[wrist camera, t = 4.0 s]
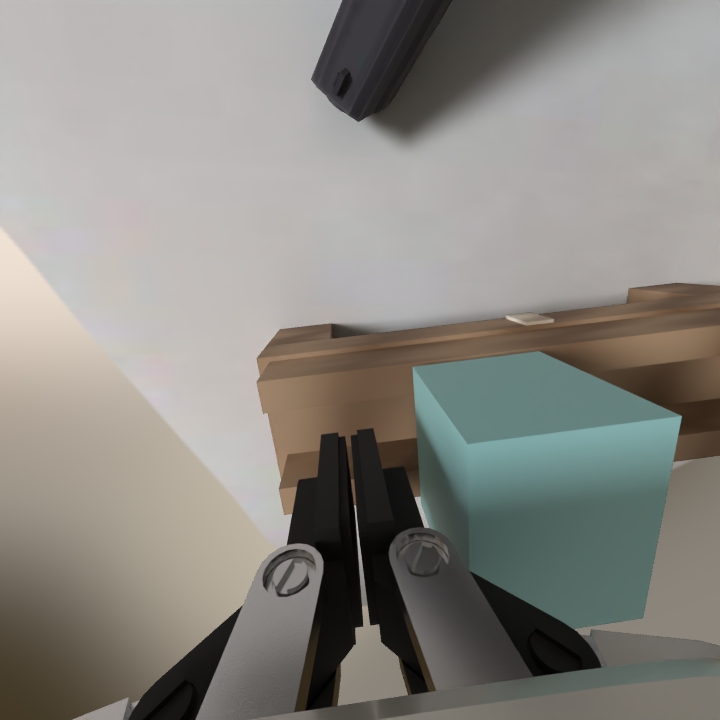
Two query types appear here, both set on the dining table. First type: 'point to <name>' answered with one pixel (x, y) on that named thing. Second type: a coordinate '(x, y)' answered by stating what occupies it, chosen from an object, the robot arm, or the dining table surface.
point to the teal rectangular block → (546, 481)
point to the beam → (482, 340)
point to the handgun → (373, 51)
